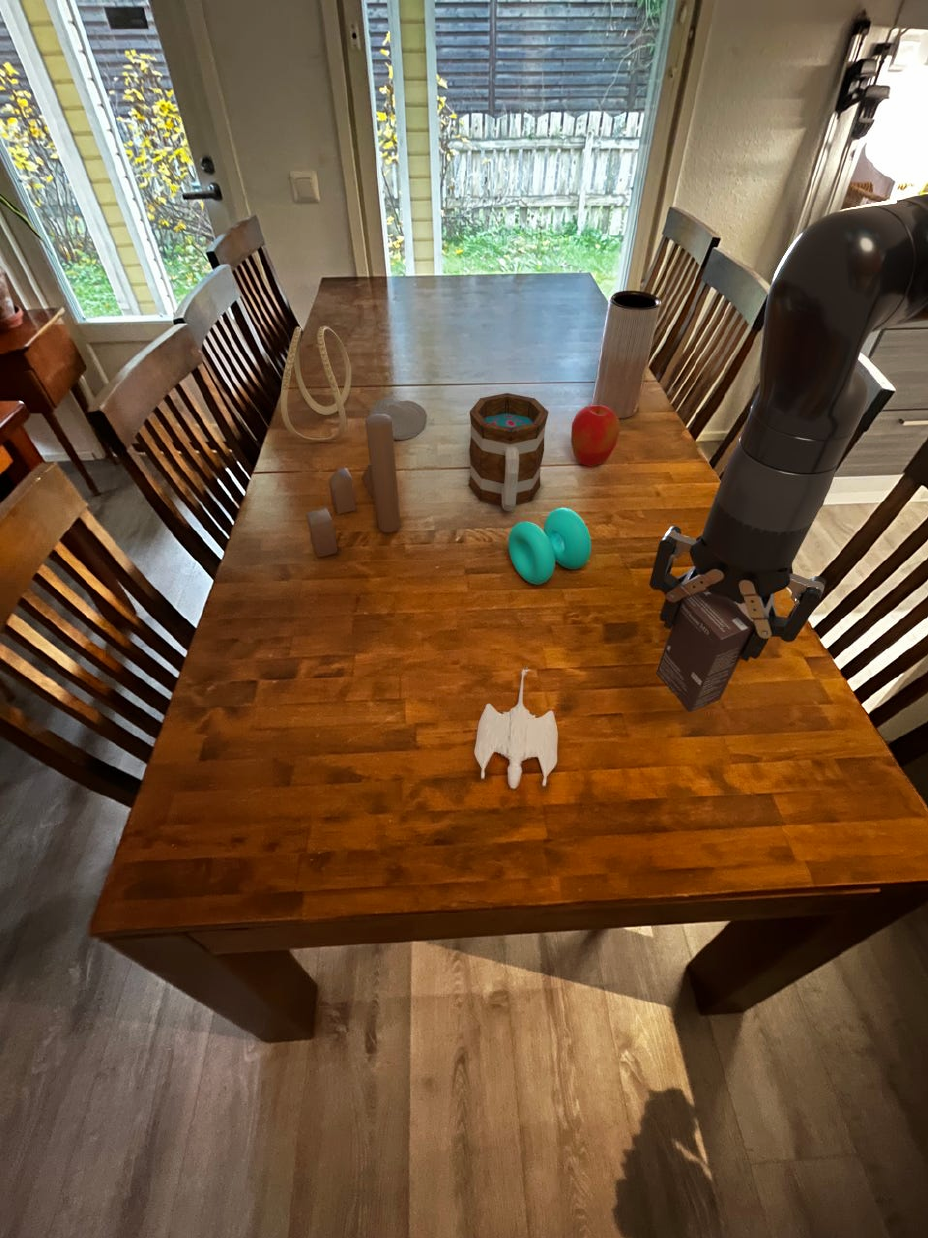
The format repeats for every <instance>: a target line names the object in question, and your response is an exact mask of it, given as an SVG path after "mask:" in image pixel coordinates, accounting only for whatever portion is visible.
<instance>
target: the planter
mask: <svg viewBox="0 0 928 1238" xmlns="http://www.w3.org/2000/svg"><path fill="white" fill-rule="evenodd" d="M661 305H662V301H661V299H660V298H659V297H658V296H656V295H655V294H652V293H649V292H646V291H641V290H620V291H616V292H614V293H612V294H610V296H609V298H608V301H607V307H606V308H607V309H606V315H605V321H604V327H603V333H602V339H601V345H600V351H599V358H598V362H597V370H596V375H595V380H594V381H595V382H594V386H593V387H594V388H593V393H592V400H591V405H602V406H607V407H608V408H610V409H611V410H612V411H613V412H614V413H615V414H616V415H617V417H618V419H627V418H630V417H632V416H634V415H635V414H636V413H637V410H638V408H639V404H640V400H641V396H642V395H641V394H642V390H643V386H644V382H645V377H646V373H647V368H648V365H649V364H648V363H649V359H650V355H651V350H652V346H653V341H654V338H655V333H656V328H657V323H658V319H659V315H660V309H661Z"/></svg>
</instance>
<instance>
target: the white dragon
mask: <svg viewBox="0 0 928 1238" xmlns="http://www.w3.org/2000/svg"><path fill="white" fill-rule="evenodd" d="M530 671H532V669H528V667H526V668H525V665H524V667H523V669H522V670H521V673H520V675H521V681H520V687H519V695H518V701H517V703H516V705H515V706H514V707H512V708H510V710H509V711H502V712H499V711H497V709H495V707H493V705H492V704H491V703H487V704H486V705H485V707H484V709H483V711H482V713H481V716H480V718H479V721H478V725H477V730H476V740H475V744H474V750H473V753H474V756H475V759H476V761H477V763H478V764H479V766H480V768H481V773H480V778H481V780H484V779H485V776H486V773H485V769H486V767H487V766H488V764H489V762H490V760H491V758H492V756H493V755H494V754H495V753H498V755H499V754H500V755H501V756H503V757H505V759H507V760H508V763H509V765H508V767H507V784H508V786H509V787H510V789H516V788H517V787H518V786H519V784H520V781H521V779H522V778H521V777H522V774H523V769H522V768H523V767H522V763H523V761H526V760H530V759H531V758H537V760H538V763H539V765H540V769H541V771H542V775H543V778H542V787H546V785H547V777H548V776H549V774H550V773H551V772H552V771H553V769H554V768H555V767H556V766H557V763H558V744H559V743H558V741H559V732H558V726H557V721H556V717H555V714H554V711H552V710H549V711H547V712H546V713H545V714H543V715H541V716H539V717H536V715H537V714H532V713H530V710H529V709H528V708H526V707H525V704H524V703H523V702H524V701H523V699H524V677H525V676H526V675H528V672H530Z"/></svg>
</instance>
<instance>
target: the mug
mask: <svg viewBox="0 0 928 1238" xmlns="http://www.w3.org/2000/svg"><path fill="white" fill-rule="evenodd" d="M473 405H474V406H472V408H471V409H470V410H469V419H470V427H471V428H470V440H469V447H468V448H469V449H468V453H469V463H470V464H469V465H470V466H469V467H470V468H469V469H470V470H469V479H468V487H469V489H470V490H471V492H472V493H473V494H474V495H475V497H476V498H477V500H478V501H479V502H483V503H487V504H490V505H494V506H499V507H501V508H502V509H503V510H504V511H508V512H509V511H510V512H511V511H513V510H515V509H516V506H518V505H522V504H527V503H530V502H532V501H533V500H534V498H535V496H536V495H537V493H538V491H539V490H540V488H541V470H542V462H543V458H544V453H545V433H546V424H547V420H548V416H549V410H547V409H546V407H544V406H543V405H542V404H541V403H540V401H538V400H537V399H536V398H535V397H531V396H525V395H520V394H515V393H509V392H505V393H500V394H499V393H498V394H493V395H489V396H484V397H480V398H479V399H478V400H477V402H476V403H475V404H473Z"/></svg>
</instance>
